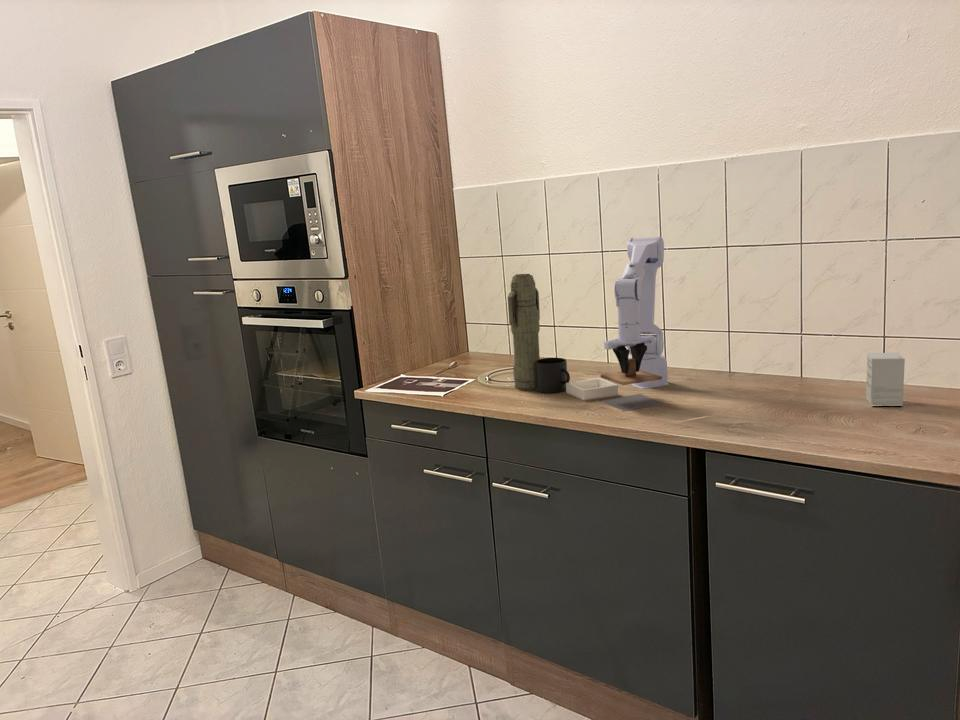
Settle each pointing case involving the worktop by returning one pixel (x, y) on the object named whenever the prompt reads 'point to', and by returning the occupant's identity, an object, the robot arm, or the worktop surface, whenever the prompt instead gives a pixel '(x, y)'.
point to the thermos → (524, 329)
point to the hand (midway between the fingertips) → (630, 372)
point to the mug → (551, 375)
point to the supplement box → (885, 379)
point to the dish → (591, 389)
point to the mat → (632, 402)
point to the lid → (631, 375)
